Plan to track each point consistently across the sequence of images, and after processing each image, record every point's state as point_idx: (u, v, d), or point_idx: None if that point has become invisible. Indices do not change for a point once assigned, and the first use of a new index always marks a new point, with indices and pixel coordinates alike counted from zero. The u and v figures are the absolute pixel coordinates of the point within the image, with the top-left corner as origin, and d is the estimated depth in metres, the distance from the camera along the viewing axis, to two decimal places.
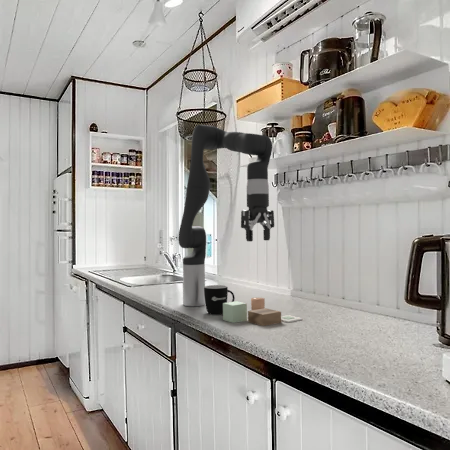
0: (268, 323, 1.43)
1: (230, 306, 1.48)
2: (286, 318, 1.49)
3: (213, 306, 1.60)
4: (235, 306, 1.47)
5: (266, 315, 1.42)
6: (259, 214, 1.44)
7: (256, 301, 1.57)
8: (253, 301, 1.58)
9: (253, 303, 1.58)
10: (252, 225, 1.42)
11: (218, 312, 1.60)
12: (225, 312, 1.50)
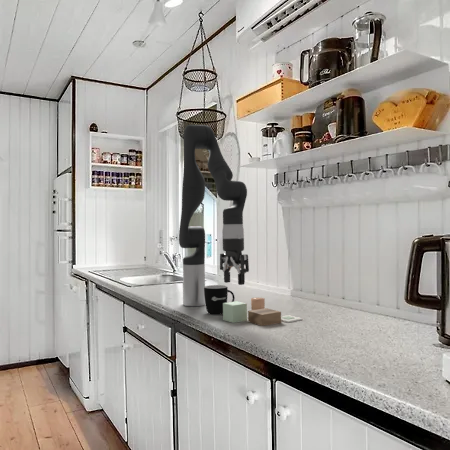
0: (267, 323, 1.43)
1: (230, 306, 1.48)
2: (286, 318, 1.49)
3: (213, 306, 1.60)
4: (235, 306, 1.47)
5: (265, 315, 1.42)
6: None
7: (256, 301, 1.57)
8: (253, 301, 1.58)
9: (253, 303, 1.58)
10: None
11: (218, 312, 1.60)
12: (225, 312, 1.50)
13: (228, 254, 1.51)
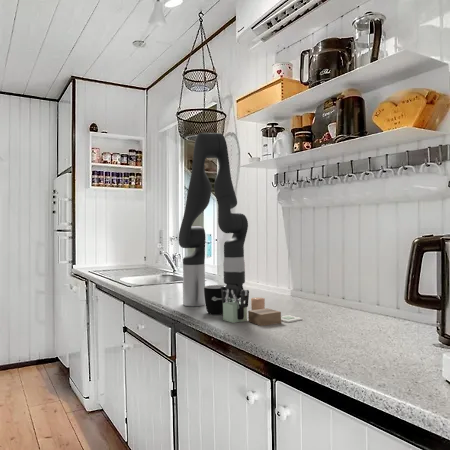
0: (267, 323, 1.42)
1: (230, 306, 1.48)
2: (286, 318, 1.49)
3: (213, 306, 1.60)
4: (235, 306, 1.47)
5: (265, 315, 1.42)
6: None
7: (256, 301, 1.57)
8: (253, 301, 1.58)
9: (253, 303, 1.58)
10: None
11: (218, 312, 1.60)
12: (225, 312, 1.50)
13: (229, 286, 1.51)
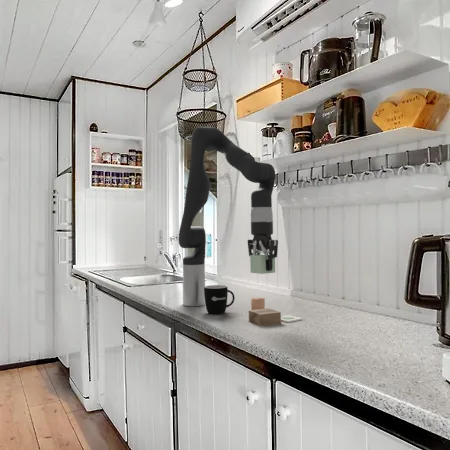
0: (266, 323, 1.42)
1: (258, 257, 1.44)
2: (286, 318, 1.49)
3: (213, 306, 1.60)
4: (263, 257, 1.43)
5: (264, 315, 1.42)
6: None
7: (256, 301, 1.57)
8: (253, 301, 1.58)
9: (253, 303, 1.58)
10: None
11: (218, 312, 1.60)
12: (252, 264, 1.46)
13: (256, 238, 1.47)
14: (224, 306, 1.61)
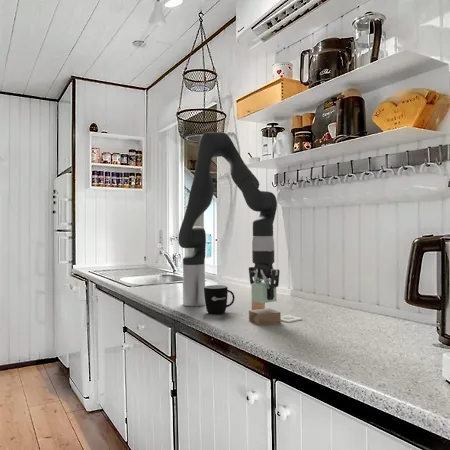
0: (265, 323, 1.42)
1: (260, 286, 1.44)
2: (286, 318, 1.49)
3: (213, 306, 1.60)
4: (265, 286, 1.43)
5: (263, 315, 1.42)
6: None
7: None
8: (254, 301, 1.57)
9: (254, 303, 1.57)
10: None
11: (218, 312, 1.60)
12: (254, 293, 1.46)
13: (258, 266, 1.48)
14: (224, 306, 1.61)
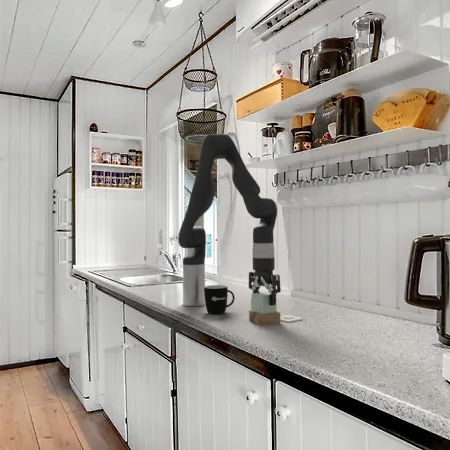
0: (265, 323, 1.42)
1: (260, 296, 1.44)
2: (286, 318, 1.49)
3: (213, 306, 1.60)
4: (265, 296, 1.43)
5: (263, 315, 1.42)
6: None
7: None
8: None
9: None
10: None
11: (218, 312, 1.60)
12: (254, 303, 1.47)
13: (258, 273, 1.48)
14: (224, 306, 1.61)
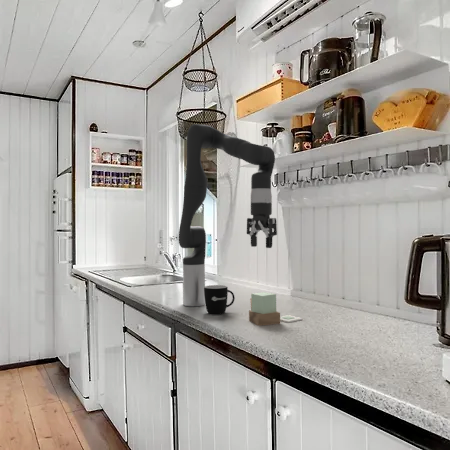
0: (265, 323, 1.42)
1: (259, 297, 1.44)
2: (286, 318, 1.49)
3: (213, 306, 1.60)
4: (265, 297, 1.43)
5: (262, 315, 1.42)
6: None
7: None
8: None
9: None
10: None
11: (218, 312, 1.60)
12: (254, 303, 1.47)
13: (256, 218, 1.54)
14: (224, 306, 1.61)
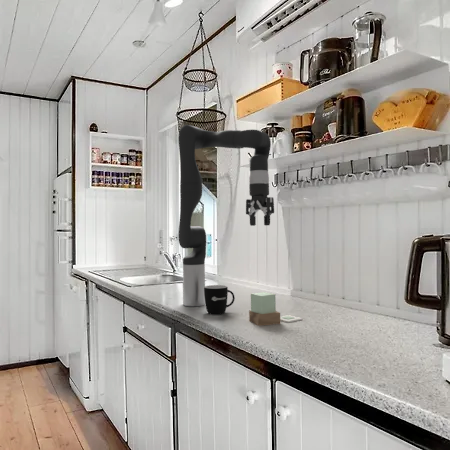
0: (265, 323, 1.42)
1: (258, 297, 1.44)
2: (286, 318, 1.49)
3: (213, 306, 1.60)
4: (264, 297, 1.43)
5: (262, 315, 1.42)
6: None
7: None
8: None
9: None
10: None
11: (218, 312, 1.60)
12: (253, 303, 1.46)
13: (254, 199, 1.65)
14: (224, 306, 1.61)
